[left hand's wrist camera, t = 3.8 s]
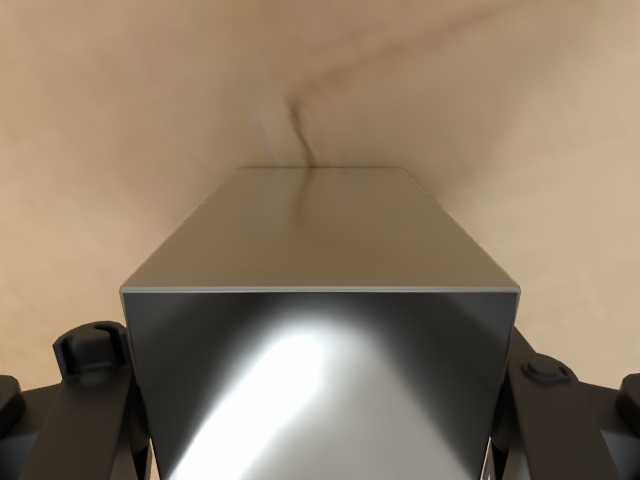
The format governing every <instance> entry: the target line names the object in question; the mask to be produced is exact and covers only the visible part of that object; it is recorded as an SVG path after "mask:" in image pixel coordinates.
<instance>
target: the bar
mask: <svg viewBox="0 0 640 480" xmlns="http://www.w3.org/2000/svg"><path fill="white" fill-rule="evenodd" d="M119 293H120V298H121V302H122V307H123V311H124V316H125V321H126V325H127V330H128V334H129V339H130V344H131V348H132V353H133V358H134V362H135V367H136V371H137V376H138V381H139V385H140V390H141V394H142V399H143V404H144V408H145V413H146V418H147V422H148V427H149V431H150V436H151V441H152V445H153V450H154V455H155V459H156V464H157V468H158V473H159V478H160V480H480V479H481V474H482V469H483V465H484V460H485V456H486V451H487V446H488V442H489V437H490V433H491V428H492V423H493V419H494V414H495V410H496V405H497V400H498V396H499V391H500V387H501V382H502V377H503V373H504V368H505V364H506V359H507V354H508V350H509V345H510V341H511V336H512V331H513V327H514V322H515V318H516V313H517V308H518V304H519V299H520V295H521V289H520V286H519V285H518V284H517V283H516V282H515V281H514V280H513V279H512V278H511V277H510V276H509V275H508V274H507V273H506V272H505V271H504V270H503V269H502V268H501V267H500V266H499V265H498V264H497V263H496V262H495V261H494V260H493V259H492V258H491V257H490V256H489V255H488V254H487V253H486V252H485V251H484V250H483V249H482V248H481V247H480V246H479V245H478V244H477V243H476V242H475V241H474V240H473V239H472V238H471V237H470V236H469V235H468V234H467V233H466V232H465V231H464V230H463V229H462V228H461V227H460V225H459V224H458V223H457V222H456V221H455V220H454V219H453V218H452V217H451V216H450V215H449V214H448V213H447V212H446V211H445V210H444V209H443V208H442V207H441V206H440V205H439V204H438V203H437V202H436V201H435V200H434V199H433V198H432V197H431V196H430V195H429V194H428V193H427V192H426V191H425V190H424V189H423V188H422V187H421V186H420V185H419V184H418V183H417V182H416V181H415V180H414V179H413V178H412V177H411V176H410V175H409V174H408V173H407V172H406V171H405V170H404V169H402V168H238V169H236V170H235V171H234V172H233V173H232V174H231V175H230V176H229V177H228V178H227V179H226V180H225V181H224V182H223V183H222V184H221V185H220V186H219V187H218V188H217V189H216V190H215V191H214V192H213V193H212V194H211V195H210V196H209V197H208V198H207V199H206V200H205V201H204V202H203V203H202V204H201V206H200V207H199V208H198V209H197V210H196V211H195V212H194V213H193V214H192V215H191V216H190V217H189V218H188V219H187V220H186V221H185V222H184V223H183V224H182V225H181V226H180V227H179V228H178V229H177V230H176V231H175V232H174V233H173V234H172V235H171V236H170V237H169V238H168V239H167V240H166V241H165V242H164V243H163V244H162V245H161V246H160V247H159V248H158V249H157V250H156V251H155V252H154V253H153V254H152V255H151V256H150V257H149V258H148V259H147V260H146V261H145V262H144V263H143V264H142V265H141V266H140V267H139V268H138V269H137V270H136V271H135V272H134V273H133V274H132V275H131V276H130V277H129V278H128V279H127V280H126V281H125V282H124V283H123V284H122V285H121V287H120V291H119Z"/></svg>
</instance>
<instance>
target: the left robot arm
mask: <svg viewBox="0 0 640 480" xmlns="http://www.w3.org/2000/svg"><path fill="white" fill-rule="evenodd" d="M52 346H53V349H54V352H55V356H56V359H57V362H58V366H59V369H60V372H61V375H62V381H61V383H59V384H56V385H51V386H47V387H42V388H37V389H33V390H28V391H23V392H22V391H21V388H20V385H19V382H18V380H17V379H15V378H14V377H12V376H7V375H0V480H150V474H151V464H152V450H151V444H150V438H151V436H150V431H149V427H148V422H147V418H146V413H145V408H144V404H143V399H142V394H141V390H140V385H139V381H138V376H137V371H136V367H135V362H134V358H133V353H132V348H131V344H130V339H129V334H128V330H127V327H126V328H125V327H124V326H123V325H121V324H120V323H117V322H112V321H98V322H93V323H89V324H85V325H82V326H79V327H77V328H74V329H72V330H70V331H68V332H67V333H65V334H64V335H62V336H60V337H59V338H58V339H57V340H56V342H55V343H54V344H53V345H52ZM490 437H491V440H490V444H489V449H488V454H487V458H486V463H485V467H484V472H483V478H482V479H483V480H488V477H489V473H490V480H640V373H637V374H629V375H628V376H626V377H625V378H624V379H623V381H622V384H621V386H620V389H619V390H616V389H611V388H606V387H601V386H597V385H592V384H587V383H584V382H580V381H579V380H578V378H577V377H576V375H575V374H574V373H573V371H572V370H571V369H570V368H568V367H567V366H566V365H564V364H563V363H562V362H560V361H558V360H556V359H554V358H552V357H549V356H546V355H543V354H539V353H536V352H535V351H534V350H533V348H532V347H531V346H530V345H529V343H528V342H527V341H526V340H525V338H524V337H523V336H522V335H521V333H520V332H519V331H518V330H517V328H516V327H515V326H514V327H513V331H512V336H511V341H510V345H509V350H508V354H507V359H506V364H505V368H504V373H503V377H502V382H501V387H500V391H499V396H498V400H497V405H496V410H495V414H494V419H493V423H492V428H491V433H490Z"/></svg>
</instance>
